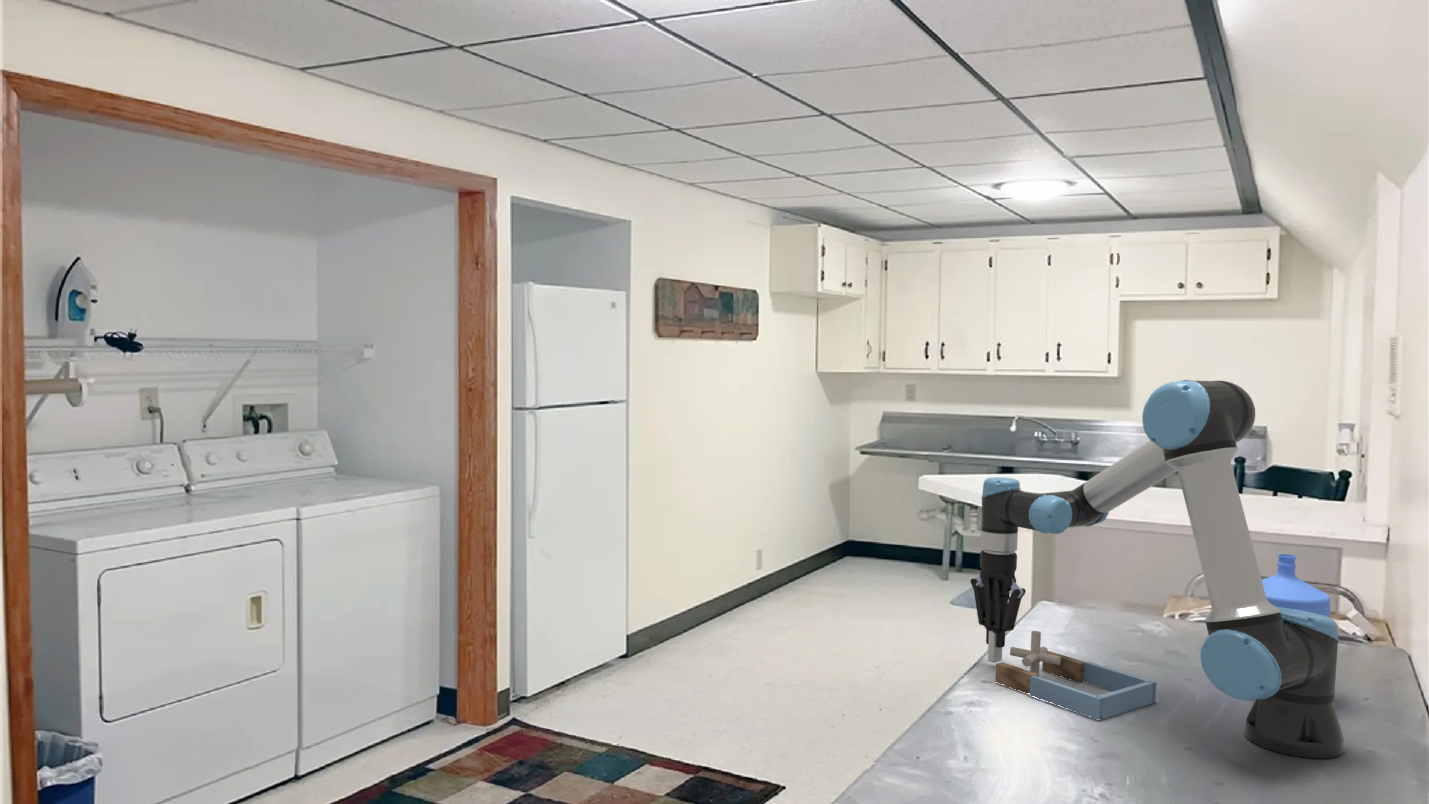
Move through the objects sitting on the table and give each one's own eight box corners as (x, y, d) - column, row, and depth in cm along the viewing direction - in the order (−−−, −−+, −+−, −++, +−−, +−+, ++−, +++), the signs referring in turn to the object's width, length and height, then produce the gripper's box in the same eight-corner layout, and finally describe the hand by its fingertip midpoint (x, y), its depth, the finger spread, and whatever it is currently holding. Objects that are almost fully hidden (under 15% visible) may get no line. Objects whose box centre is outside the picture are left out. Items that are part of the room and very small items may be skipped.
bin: (1155, 702, 200) (1156, 682, 200) (1098, 720, 190) (1099, 699, 190) (1087, 680, 213) (1088, 661, 213) (1029, 696, 202) (1030, 676, 202)
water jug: (1338, 712, 197) (1346, 566, 196) (1249, 704, 201) (1256, 561, 199) (1308, 686, 213) (1316, 550, 211) (1226, 679, 216) (1232, 546, 214)
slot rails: (1085, 681, 212) (1085, 662, 212) (1031, 696, 203) (1032, 675, 202) (1048, 669, 220) (1048, 651, 220) (995, 683, 210) (995, 663, 210)
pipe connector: (1049, 691, 205) (1052, 642, 205) (1001, 681, 211) (1003, 632, 211) (1066, 679, 213) (1068, 631, 213) (1019, 669, 219) (1021, 622, 219)
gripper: (1035, 554, 216) (1031, 666, 218) (986, 544, 227) (982, 650, 228) (1012, 558, 212) (1008, 672, 213) (962, 547, 223) (959, 656, 224)
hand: (994, 661), depth 221 cm, fingers closed
